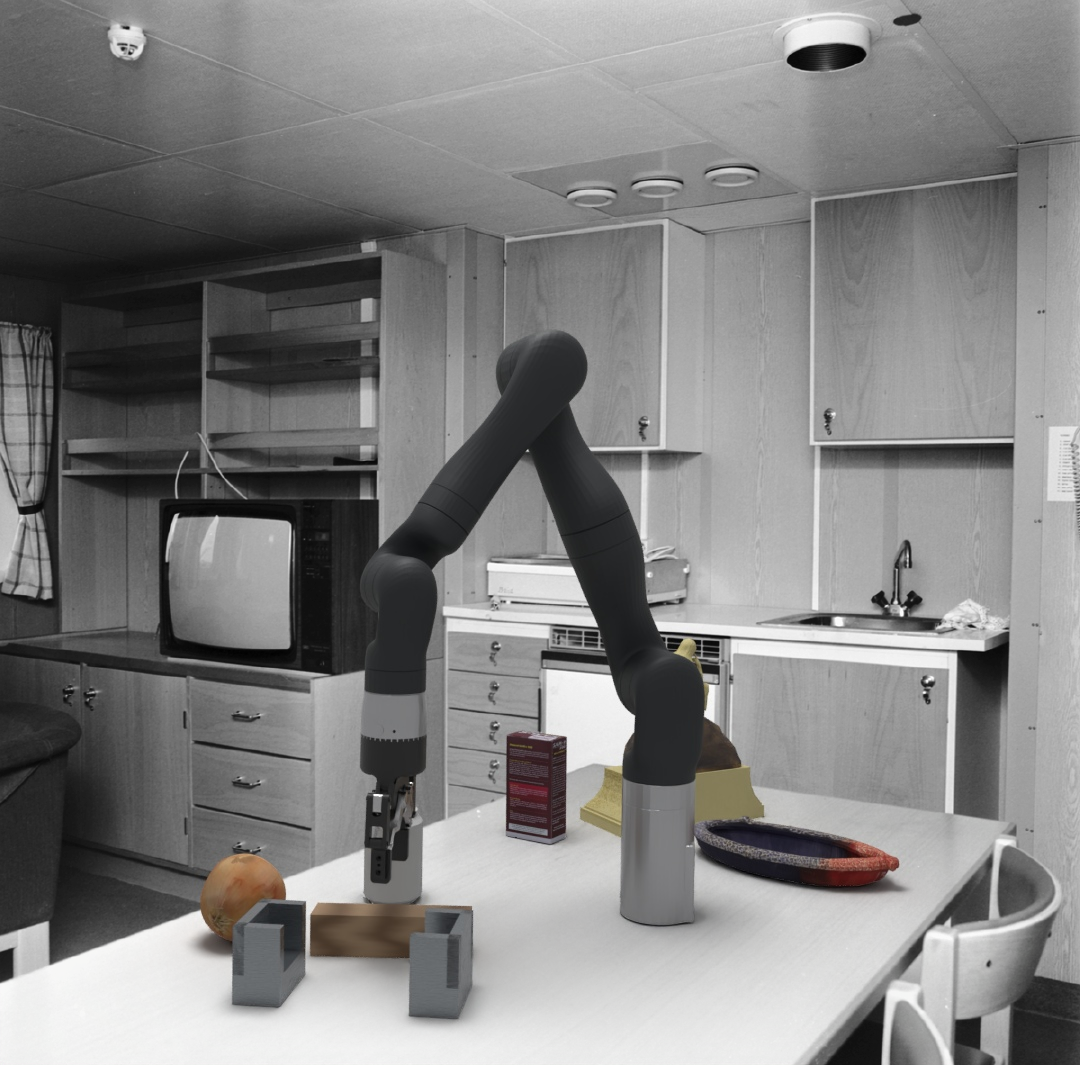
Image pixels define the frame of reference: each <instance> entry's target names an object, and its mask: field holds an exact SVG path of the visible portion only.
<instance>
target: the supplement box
mask: <svg viewBox="0 0 1080 1065" xmlns="http://www.w3.org/2000/svg"><path fill="white" fill-rule="evenodd" d="M505 737H506V738H505V739H506V747H505V748H506V750H505V751H506V756H505V757H506V761H505V762H506V763H505V764H506V766H505V775H506V776H505V779H506V780H505V787H506V788H505V791H506V792H505V796H506V797H505V836H507V837H510V838H515V837H517V838H516V839H521V840H526V841H532V842H538V843H543V844H547V845H552V844H555V843H557V842H558V843H559V841H562V840H564V839H566V836H567V774H568V773H567V768H568V767H567V765H568V764H567V760H568V759H567V756H568V752H567V750H568V748H567V747H568V744H567V743H568V737H567V736H565V735H557V734H552V733H551V734H549V733H543V732H542V733H541V732H533V731H527V730H518V731H515V732H511V733H509V734H506V736H505Z"/></svg>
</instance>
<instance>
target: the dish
mask: <svg viewBox="0 0 1080 1065" xmlns="http://www.w3.org/2000/svg"><path fill="white" fill-rule="evenodd" d="M694 839H696V843H697V845H698V846H699V848H700V849H701V850H702V851H703V853H704V854H705V855H706V856H708V857H710V858H712V859H714V860H715V861H718V862H720V863H722V864H724V865H727V866H729V867H732V868H734V869H737V870H739V871H744V872H746V873H750V874H754V875H756V876H757V875H758V876H761V877H765V878H771V879H775V880H781V881H785V882H789V883H790V882H791V883H796V884H802V885H809V886H817V887H857V886H865V885H869V884H872V883H876V882H879V881H881V880H882V879H883V878H884V877H885V876H886V875H887V874H888V872H889V871H890V872H895V871H896V870H897V869H898V868H900V859H899V858H898V857H897V856H893V855H891V854H888V853H887V852H885V851H884V850H881V849H880V848H877V847H875V846H872V845H870V844H868V843H865V842H861V841H859V840H857V839H856V840H855V839H852V838H850V837H845V836H842V835H837V834H833V833H829V832H824V831H819V830H813V829H808V828H803V827H798V826H792V825H785V824H779V823H773V822H772V823H771V822H767V821H766V822H764V821H758V820H754V819H750V817H748V816H742V817H741V818H739V819H718V820H705V821H701V822H698V823H696V824H695V830H694Z"/></svg>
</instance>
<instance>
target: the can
mask: <svg viewBox="0 0 1080 1065" xmlns="http://www.w3.org/2000/svg"><path fill="white" fill-rule="evenodd" d="M415 811H416V815H415V818H412V825H411V827H408V829H409V857H408V859H407V860H406V861H392V868H391V880H390V881H389V883H387V884H379V883H372V882H371V880H370V871H371V849H369V848H365V845H364V844H363V851H364V852H363V855H364V856H363V857H364V858H363V860H364V861H363V894H364V897H365V898H367V899H368V900H369V901H370V902H369V903H370V904H405V905H412V904H413V903H414V902H415V901H416V900H417V899H418V898H420V896H422V893H423V852H424V850H423V847H424V843H423V842H424V840H423V839H424V819H423V818H422V817H421V815H420V814H419V813H418V811H419V808H418V807H417V805H416V806H415ZM365 822H366V819H365V820H364V823H365ZM382 836H383V831H378V833H377V837H380V838H382ZM363 838H364V840H365V832H364V837H363Z"/></svg>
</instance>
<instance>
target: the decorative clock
mask: <svg viewBox="0 0 1080 1065" xmlns="http://www.w3.org/2000/svg"><path fill="white" fill-rule="evenodd" d="M696 650H697V644H696V642H695V640H693V639H692V638H684V639H683V640H682V641H681V642H680V645H679V646H678V648H677V649H676V651H674V652H673V653H675V654H678V655H681V656H683V657H686V658H687V659H689V660H690V661H692V662H693V663H694V664H695V665H696V666H697V668H698V669H699V671H700V673H701V676H702V679H703V680H704V674H703V669H702V664H701V662H700V659H699V658H698V656H697V654H696ZM693 656H694V657H693ZM703 683H704V690H705V711H704V712H706V711H707V708H708V707H707V706H708V700H709V699H708V697H709V692H710V685H709V683H707V682H704V681H703ZM633 740H634V732H632V734H631V736H630V737H629V739H628V740H627V742H626V743H625V746H624V750H623V754H622V758H623V757H624V755H625V753H626V752H628V751H630V750H631V748H632V746H633ZM603 772H604V774H603V775H604V776H603V781H602V784H601V787H600V788H599V790H598V791H597V793H596V794H595V796H594V797H593V798H591V799H590V800H589V801H587V803H585V804H584V806H582V807H580V808H579V819H580V820H581V821H584V822H586V823H588V824H589V825H590V824H591V825H592V826H595V827H597V828H599V829H601V830H603V831H606V832H608V833H609V834H612V835H614V836H616V837H619V838H621V817H622V765H615V766H607V767H604V771H603ZM752 786H753V785H752V781H751V767H750V766H748V765H745V764H742V760H741V759H740V756H739V754H738V751H737V749H736V747H735V745H734V744H733V743H732V741H731V740H730V738H728V736H726V734H725V733H723V731H722V729H721V727H720V726H719V725H718V724H717V723H715V722H713V721H712V720H710V719H709V718H707V717H705V716H704V728H703V744H702V752H701V756H700V759H699V761H698V764H697V766H696V778H695V824H696V823H698V822H701V821H705V820H718V819H739V818H741V817H742V816H748V817H750V820H754V819H760V818H764V817H765V805H764V804H763V803H762V802H761V801H760V799H759V798H758V797H757V795H756V793H755V792H754V791H755V790H754V788H753V787H752Z"/></svg>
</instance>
